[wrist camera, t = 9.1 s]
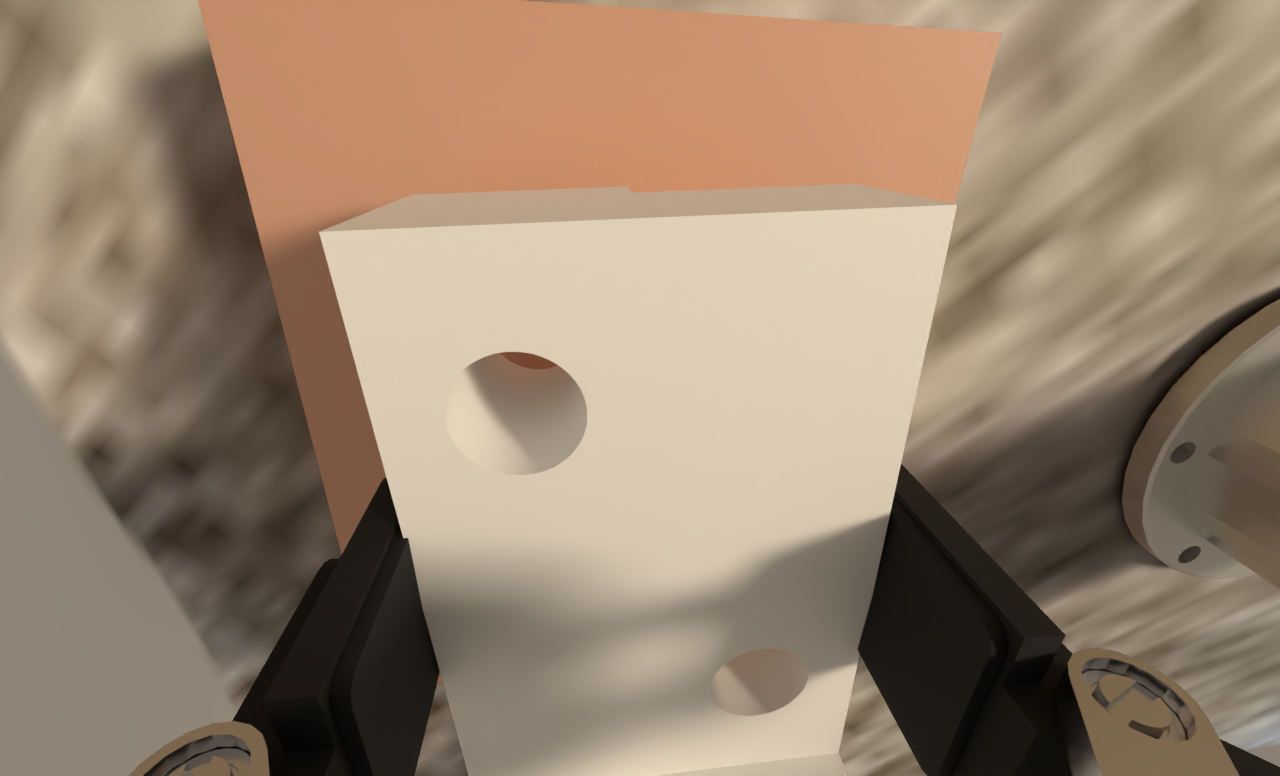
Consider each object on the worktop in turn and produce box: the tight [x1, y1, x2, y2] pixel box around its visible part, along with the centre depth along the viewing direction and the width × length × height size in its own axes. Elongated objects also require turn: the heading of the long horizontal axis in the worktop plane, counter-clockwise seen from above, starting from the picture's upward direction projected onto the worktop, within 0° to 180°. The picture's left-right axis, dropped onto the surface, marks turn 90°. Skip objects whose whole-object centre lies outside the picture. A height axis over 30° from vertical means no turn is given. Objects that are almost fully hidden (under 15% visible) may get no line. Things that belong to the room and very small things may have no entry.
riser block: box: [198, 0, 1001, 684], centre depth 15 cm, size 14×17×4 cm
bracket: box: [319, 184, 957, 776], centre depth 9 cm, size 13×7×8 cm, turn 1°
